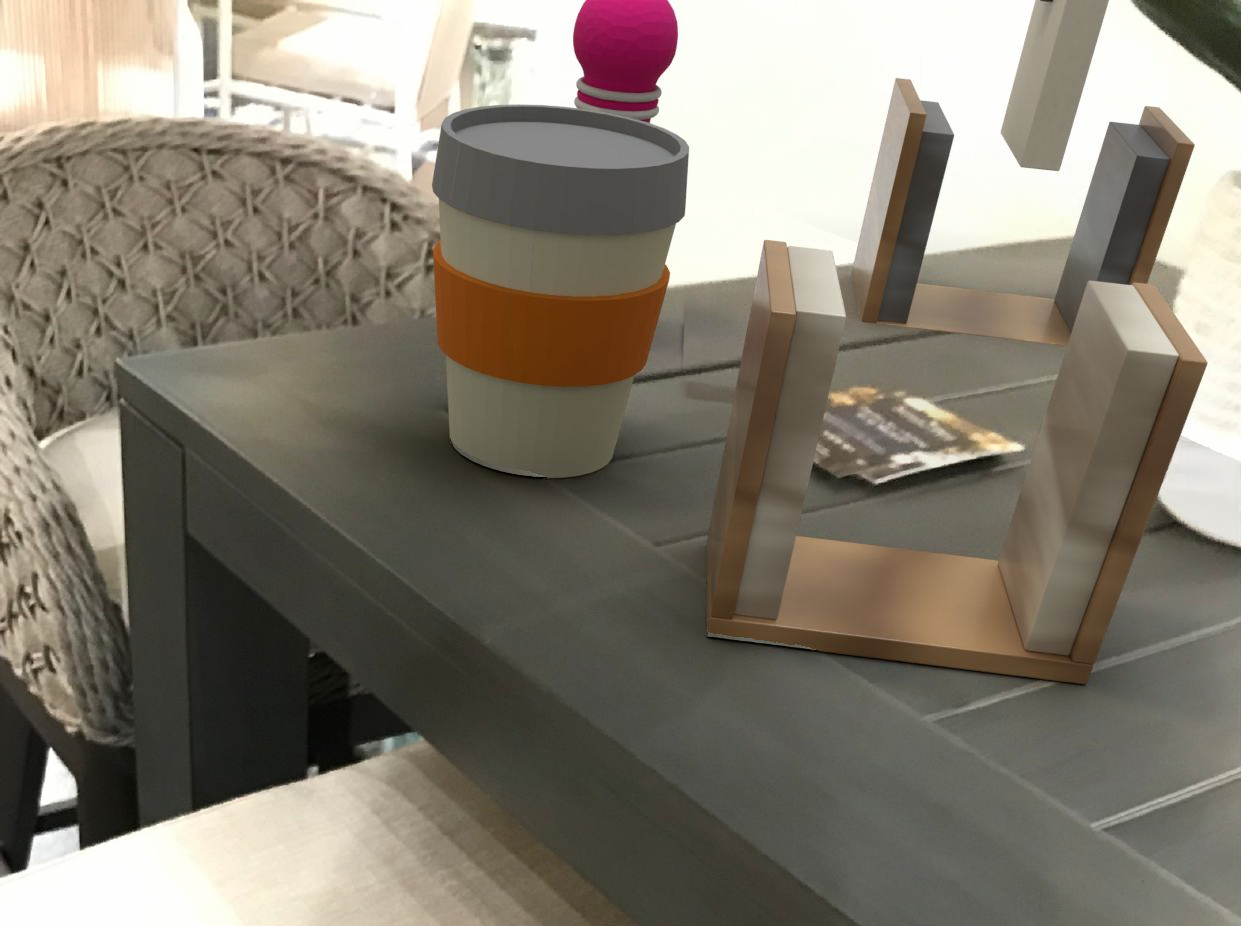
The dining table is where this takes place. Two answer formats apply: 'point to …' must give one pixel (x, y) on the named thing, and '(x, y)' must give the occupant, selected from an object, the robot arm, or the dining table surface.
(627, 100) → the pepper mill
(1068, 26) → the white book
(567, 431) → the reusable coffee cup
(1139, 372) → the white rack
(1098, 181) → the grey rack
